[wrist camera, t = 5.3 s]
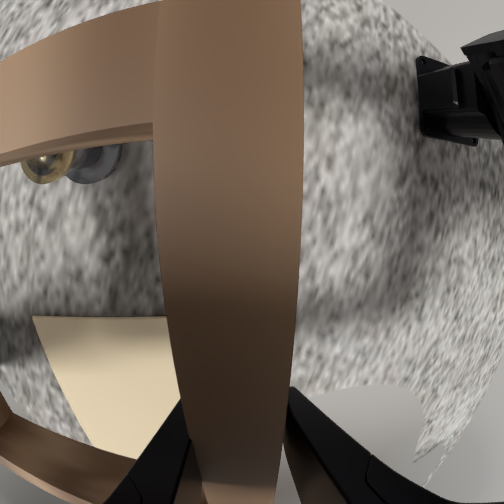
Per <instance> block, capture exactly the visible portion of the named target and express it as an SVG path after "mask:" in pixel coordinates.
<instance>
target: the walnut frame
mask: <svg viewBox="0 0 504 504" xmlns="http://www.w3.org/2000/svg"><path fill="white" fill-rule="evenodd" d="M146 140H153V167H154V193H155V211H156V225H157V238H158V250H159V260H160V270H161V279H162V287H163V296H164V303H165V311H166V318H167V325H168V331H169V338H170V344H171V350H172V356H173V362H174V367H175V373H176V378H177V383H178V388H179V393H180V398H181V403H182V407H183V412H184V416H185V421H186V425H187V429H188V434H189V438H190V439H191V440H192V443H193V447H194V451H195V455H196V459H197V462H198V466H199V470H200V474H201V477H202V491H201V503H200V504H274V498H275V492H276V484H277V479H278V472H279V465H280V459H281V451H282V444H283V437H284V429H285V421H286V413H287V404H288V395H289V386H290V377H291V367H292V357H293V346H294V334H295V322H296V310H297V296H298V281H299V265H300V247H301V225H302V199H303V158H304V81H303V43H302V20H301V1H300V0H163V1H158V2H153V3H148V4H144V5H140V6H136V7H132V8H128V9H124V10H121V11H117V12H114V13H110V14H107V15H104V16H101V17H98V18H95V19H92V20H89V21H86V22H83V23H81V24H78V25H75V26H73V27H70V28H68V29H65V30H63V31H61V32H58V33H56V34H54V35H51V36H49V37H47V38H45V39H42V40H40V41H38V42H36V43H34V44H32V45H30V46H28V47H26V48H24V49H22V50H20V51H19V52H17V53H15V54H13V55H11V56H10V57H8V58H6V59H4V60H3V61H1V62H0V167H2V166H6V165H10V164H14V163H18V162H22V161H26V160H30V159H34V158H39V157H44V156H48V155H53V154H58V153H63V152H69V151H74V150H80V149H86V148H92V147H99V146H105V145H112V144H120V143H128V142H137V141H146ZM136 460H137V459H133V458H130V457H126V456H122V455H118V454H115V453H112V452H108V451H105V450H102V449H99V448H96V447H92V446H90V445H87V444H84V443H81V442H78V441H75V440H73V439H70V438H67V437H65V436H62V435H60V434H57V433H55V432H53V431H50V430H48V429H46V428H43V427H41V426H39V425H37V424H35V423H32V422H30V421H28V420H26V419H24V418H22V417H20V416H18V415H16V414H14V413H13V412H12V411H11V409H10V407H9V406H8V404H7V402H6V401H5V399H4V397H3V396H2V393H1V392H0V464H2V465H3V466H5V467H6V468H8V469H9V470H11V471H12V472H14V473H15V474H17V475H19V476H20V477H22V478H24V479H25V480H27V481H29V482H31V483H32V484H34V485H36V486H38V487H39V488H41V489H43V490H45V491H47V492H49V493H51V494H53V495H55V496H57V497H59V498H61V499H63V500H65V501H67V502H69V503H71V504H102V503H103V502H104V501H105V500H106V499H107V498H108V497H109V496H110V495H111V493H112V492H113V491H114V490H115V488H116V487H117V486H118V485H119V483H120V482H121V481H122V479H123V478H124V476H125V475H126V474H128V471H129V470H130V468H131V467H132V466H133V464H134V463H135V462H136Z"/></svg>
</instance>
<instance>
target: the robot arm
mask: <svg viewBox="0 0 504 504" xmlns="http://www.w3.org/2000/svg"><path fill="white" fill-rule="evenodd" d="M461 50H462V51H463V53H464V55H466V56H467V58H468V60H469V61H468V62H463V63H459V64H455V65H451V66H450V65H447V64H445V63H442V62H439V61H436V60H433V59H431V58H428V57H425V56H419V57H417V58H416V68H417V79H418V91H419V107H420V131H421V133H422V135H423V136H425V137H430V138H435V139H440V140H445V141H450V142H455V143H459V144H464V145H468V146H477V144H478V138H486V139H499V140H502V142H503V145H504V30H502V31H498V32H495V33H491V34H488V35H486V36H484V37H482V38H480V39H477V40H475V41H473V42H471V43H469V44H467V45H465V46H462V47H461ZM421 60H422V62H423V64H422V62H421ZM426 128H427V129H428V132H426ZM283 444H284V450H285V454H286V458H287V462H288V465H289V468H290V471H291V474H292V477H293V480H294V483H295V486H296V489H297V492H298V495H299V498H300V501H301V504H504V502H492V503H459V502H454V501H450V500H447V499H444V498H442V497H440V496H438V495H436V494H434V493H432V492H430V491H428V490H426V489H424V488H423V487H421V486H419V485H417V484H415V483H414V482H412V481H410V480H408V479H407V478H405V477H403V476H402V475H400V474H399V473H397V472H395V471H394V470H393V469H391V468H390V467H388V466H387V465H386V464H384V463H383V462H382V461H380V460H379V459H378V458H377V457H375V456H374V455H373V454H372V455H371V453H370V452H369V451H368V450H366V449H365V448H364V447H363V446H362V445H360V444H359V443H358V442H357V441H355V440H354V439H353V438H352V437H351V436H349V435H348V434H347V433H346V432H345V431H344V430H342V429H341V428H340V427H339V426H338V425H336V423H334V422H333V421H332V420H331V419H330V418H329V417H327V416H326V415H325V414H324V413H323V412H322V411H321V410H320V409H318V408H317V407H316V406H315V405H314V404H313V403H312V402H311V401H309V400H308V399H307V398H306V397H305V396H304V395H303V394H302V393H301V392H300V391H299V390H297V389H296V388H295V387H293V386H290V387H289V395H288V404H287V413H286V421H285V429H284V437H283ZM201 491H202V477H201V474H200V470H199V466H198V462H197V459H196V455H195V451H194V447H193V443H192V440H191V439H190V438H189V434H188V429H187V425H186V421H185V416H184V412H183V407H182V403H181V398H180V399H179V401H178V402H177V404H176V405H175V407H174V408H173V410H172V411H171V412H170V414H169V415H168V417H167V418H166V419H165V421H164V422H163V424H162V425H161V427H160V428H159V429H158V431H157V432H156V434H155V435H154V436H153V438H152V439H151V441H150V442H149V443H148V445H147V446H146V448H145V449H144V450H143V452H142V453H141V455H140V456H139V457H138V459H137V460H136V462H135V463H134V464H133V466H132V467H131V468H130V470H129V471H128V474H126V475H125V476H124V478H123V479H122V481H121V482H120V483H119V485H118V486H117V487H116V488H115V490H114V491H113V492H112V493H111V495H110V496H109V497H108V498H107V499H106V500H105V501H104V502H103V503H102V504H200V503H201Z"/></svg>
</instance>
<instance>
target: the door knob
mask: <svg viewBox="0 0 504 504" xmlns="http://www.w3.org/2000/svg"><path fill="white" fill-rule="evenodd" d="M121 149H122V144H121V143H120V144H112V145H105V146H99V147H92V148H86V149H80V150H74V151H69V152H63V153H58V154H53V155H48V156H44V157H39V158H34V159H30V160H26V161H22V162H21V166H22V169H23V171H24V173H25V174H26V176H27V177H28V178H29V179H30V180H32V181H33V182H35V183H38V184H47V183H51V182H55V181H57V180H59V179H61V178H62V177H63V176H65V175H66V176H67V177H68V178H69V179H70V180H72V181H74V182H76V183H80V184H90V183H94V182H97V181H100V180H102V179H104V178H106V177H107V176H108V175H109V174H110V173H111V172H112V171H113V170H114V169H115V167H116V165H117V163H118V161H119V159H120V155H121Z"/></svg>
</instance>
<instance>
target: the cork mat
mask: <svg viewBox="0 0 504 504" xmlns="http://www.w3.org/2000/svg"><path fill="white" fill-rule="evenodd" d="M32 319H33V322H34V325H35V327H36V330H37V333H38V336H39V338H40V341H41V343H42V346H43V348H44V351H45V353H46V356H47V358H48V361H49V363H50V365H51V367H52V370H53V372H54V374H55V376H56V378H57V381H58V383H59V385H60V387H61V389H62V391H63V393H64V395H65V397H66V399H67V401H68V403H69V405H70V406H71V408H72V410H73V412H74V414H75V416H76V417H77V419H78V421H79V423H80V424H81V426H82V428H83V430H84V431H85V433H86V435H87V436H88V438H89V439H90V441H91V443H92V444H93V446H94V447H96V448H99V449H102V450H105V451H108V452H112V453H115V454H118V455H122V456H126V457H130V458H133V459H138V457H139V456H140V455H141V453H142V452H143V450H144V449H145V448H146V446H147V445H148V443H149V442H150V441H151V439H152V438H153V436H154V435H155V434H156V432H157V431H158V429H159V428H160V427H161V425H162V424H163V422H164V421H165V419H166V418H167V417H168V415H169V414H170V412H171V411H172V410H173V408H174V407H175V405H176V404H177V402H178V401H179V399H180V393H179V388H178V383H177V378H176V373H175V367H174V362H173V356H172V350H171V344H170V338H169V331H168V325H167V318H166V316H156V317H63V316H35V315H33V317H32Z"/></svg>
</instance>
